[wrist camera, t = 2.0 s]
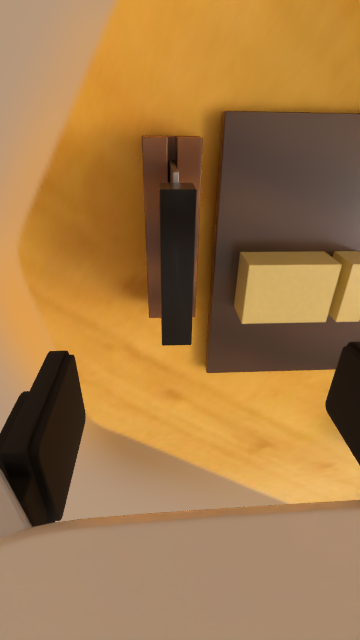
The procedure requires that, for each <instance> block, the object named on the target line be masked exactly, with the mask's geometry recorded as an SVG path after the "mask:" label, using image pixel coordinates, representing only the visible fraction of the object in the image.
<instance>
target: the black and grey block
mask: <svg viewBox="0 0 360 640" xmlns="http://www.w3.org/2000/svg"><path fill="white" fill-rule="evenodd" d="M159 204H160V261H161V319H162V345H191V339H192V313H193V287H194V261H195V235H196V208H197V189H196V187H195V186H194V184H193V183H179V172H178V170H177V168H176V166H175V164H174V162H173V161H169V183H159Z"/></svg>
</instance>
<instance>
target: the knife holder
mask: <svg viewBox="0 0 360 640" xmlns="http://www.w3.org/2000/svg"><path fill="white" fill-rule="evenodd" d="M202 145H203V138H202V137H199V136H142V153H143V178H144V203H145V228H146V253H147V279H148V304H149V318H161V261H160V204H159V183H169V161H173V162H174V164H175V166H176V168H177V170H178V172H179V183H193V184H194V186H195V187H196V189H197V208H196V235H195V261H194V287H193V313H192V317H195V308H196V285H197V261H198V238H199V215H200V192H201V169H202Z"/></svg>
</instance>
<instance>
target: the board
mask: <svg viewBox="0 0 360 640" xmlns="http://www.w3.org/2000/svg"><path fill="white" fill-rule="evenodd" d="M309 251H324V252H326V253H327V254H328V255H330V256H331V257H332V258H333V254H334V251H358V252H360V113H310V112H258V111H224V112H222V123H221V137H220V152H219V167H218V182H217V197H216V212H215V227H214V242H213V257H212V272H211V286H210V301H209V316H208V331H207V346H206V361H205V367H206V372H207V373H223V372H258V371H292V370H327V369H336V368H337V364H338V361H339V358H340V355H341V352H342V349H343V347H344V346H347V344H348V343H349V342H358V341H360V320H359V322H335V321H334V320H333V318H332V317H331V316H330V315H329V314H328V316H327V319H326V322H304V323H254V324H242V323H241V321H240V319H239V317H238V314H237V312H236V310H235V307H234V302H235V293H236V284H237V275H238V266H239V257H240V252H309Z"/></svg>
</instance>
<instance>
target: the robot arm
mask: <svg viewBox="0 0 360 640" xmlns="http://www.w3.org/2000/svg"><path fill="white" fill-rule="evenodd" d="M326 410H327V412H328V414H329V416H330V417H331V419H332V421H333V422H334V424H335V426H336V427H337V429H338V431H339V432H340V434H341V435H342V437H343V439H344V440H345V442H346V444H347V445H348V447H349V448H350V450H351V452H352V453H353V455H354V457H355V458H356V460H357V462H358V463H359V465H360V341H358V342H349V343H348V344H347V346H344V347H343V349H342V352H341V355H340V358H339V361H338V364H337V368H336V371H335V374H334V377H333V380H332V384H331V387H330V390H329V393H328V396H327V400H326ZM84 424H85V409H84V403H83V398H82V393H81V388H80V382H79V377H78V372H77V367H76V361H75V357H74V355H69V353H68V351H50V352H49V353H48V354H47V356H46V358H45V360H44V363H43V365H42V367H41V369H40V371H39V373H38V375H37V377H36V379H35V381H34V383H33V385H32V387H31V390H30V391H27V392H23V393H21V395H20V396H19V398H18V400H17V402H16V404H15V406H14V408H13V409H12V411H11V413H10V415H9V417H8V419H7V421H6V423H5V425H4V427H3V429H2V431H1V433H0V640H360V500H352V501H334V502H317V503H301V504H284V505H268V506H253V507H236V508H221V509H206V510H191V511H177V512H163V513H147V514H133V515H123V516H110V517H99V518H88V519H78V520H70V521H62V522H55V521H60V520H61V518H62V516H63V512H64V508H65V504H66V499H67V495H68V491H69V487H70V483H71V478H72V474H73V470H74V466H75V462H76V458H77V454H78V450H79V445H80V441H81V437H82V433H83V429H84Z"/></svg>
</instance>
